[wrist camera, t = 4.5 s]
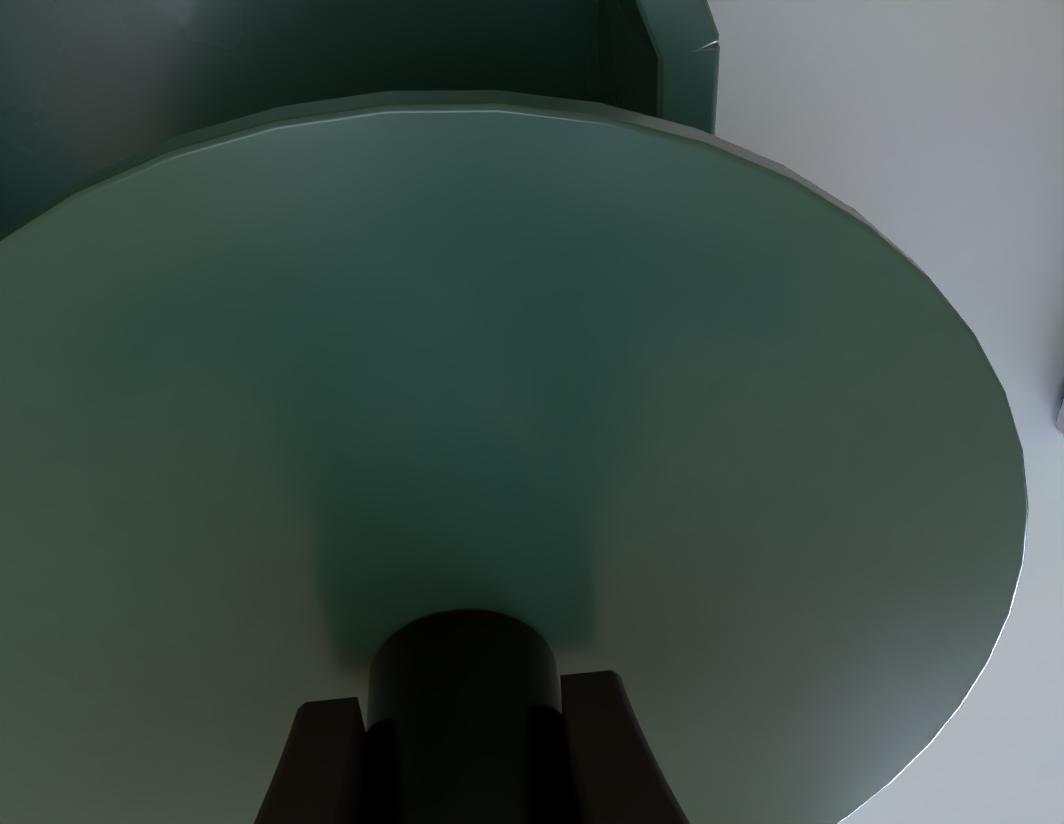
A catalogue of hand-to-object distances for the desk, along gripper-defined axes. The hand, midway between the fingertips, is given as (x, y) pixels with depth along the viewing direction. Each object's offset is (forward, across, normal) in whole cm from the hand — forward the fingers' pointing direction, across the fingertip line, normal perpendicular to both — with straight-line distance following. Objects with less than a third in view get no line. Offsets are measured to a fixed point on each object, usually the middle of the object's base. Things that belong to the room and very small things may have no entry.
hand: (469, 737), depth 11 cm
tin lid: (+2, 0, 0) cm, 2 cm away
